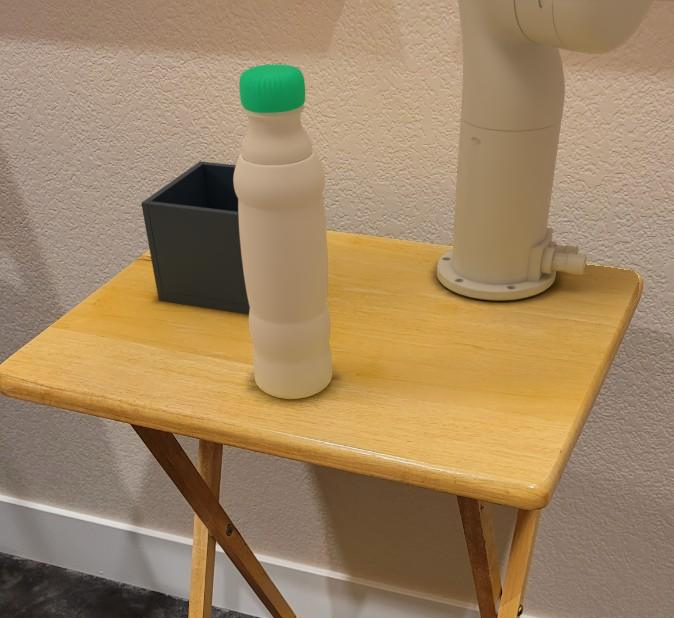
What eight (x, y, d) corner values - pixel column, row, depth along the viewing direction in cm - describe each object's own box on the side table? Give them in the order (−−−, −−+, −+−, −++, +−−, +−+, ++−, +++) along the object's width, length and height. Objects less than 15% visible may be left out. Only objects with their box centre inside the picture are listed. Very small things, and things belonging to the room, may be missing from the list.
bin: (311, 267, 98) (306, 172, 91) (265, 317, 89) (256, 216, 82) (212, 253, 101) (199, 161, 94) (158, 300, 93) (140, 202, 86)
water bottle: (323, 405, 77) (308, 84, 60) (246, 399, 78) (208, 82, 61) (339, 365, 82) (329, 57, 64) (266, 359, 83) (237, 56, 66)
